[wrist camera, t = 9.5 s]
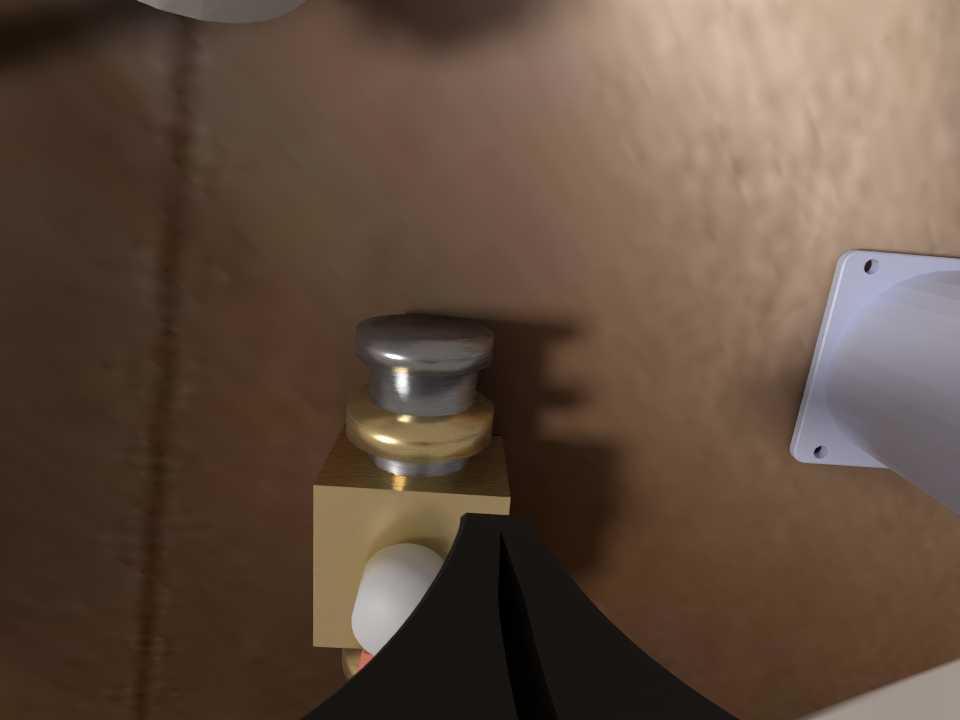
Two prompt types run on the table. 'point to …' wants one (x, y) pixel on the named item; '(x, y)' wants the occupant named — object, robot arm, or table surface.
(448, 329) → the valve pipe
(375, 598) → the lever
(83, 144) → the table surface
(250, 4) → the mechanical valve
